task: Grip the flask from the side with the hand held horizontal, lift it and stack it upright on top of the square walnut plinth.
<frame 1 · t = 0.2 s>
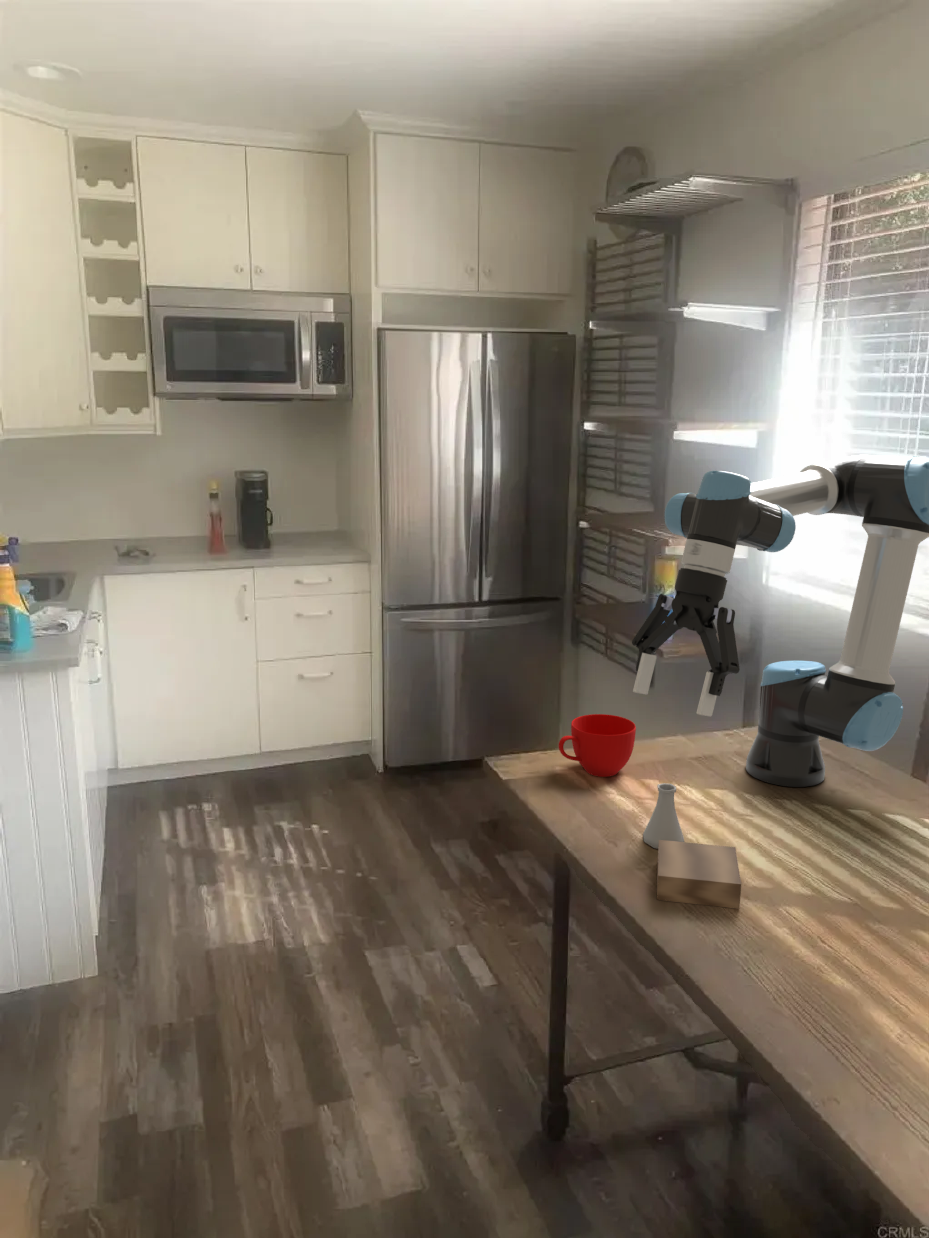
hand: (670, 703, 144), 27 cm above the table, tool tilted 15°, fingers open, 13 cm apart
plinth: (696, 884, 143), on the table
ceramic cup: (593, 773, 187), on the table
flask: (663, 842, 157), on the table
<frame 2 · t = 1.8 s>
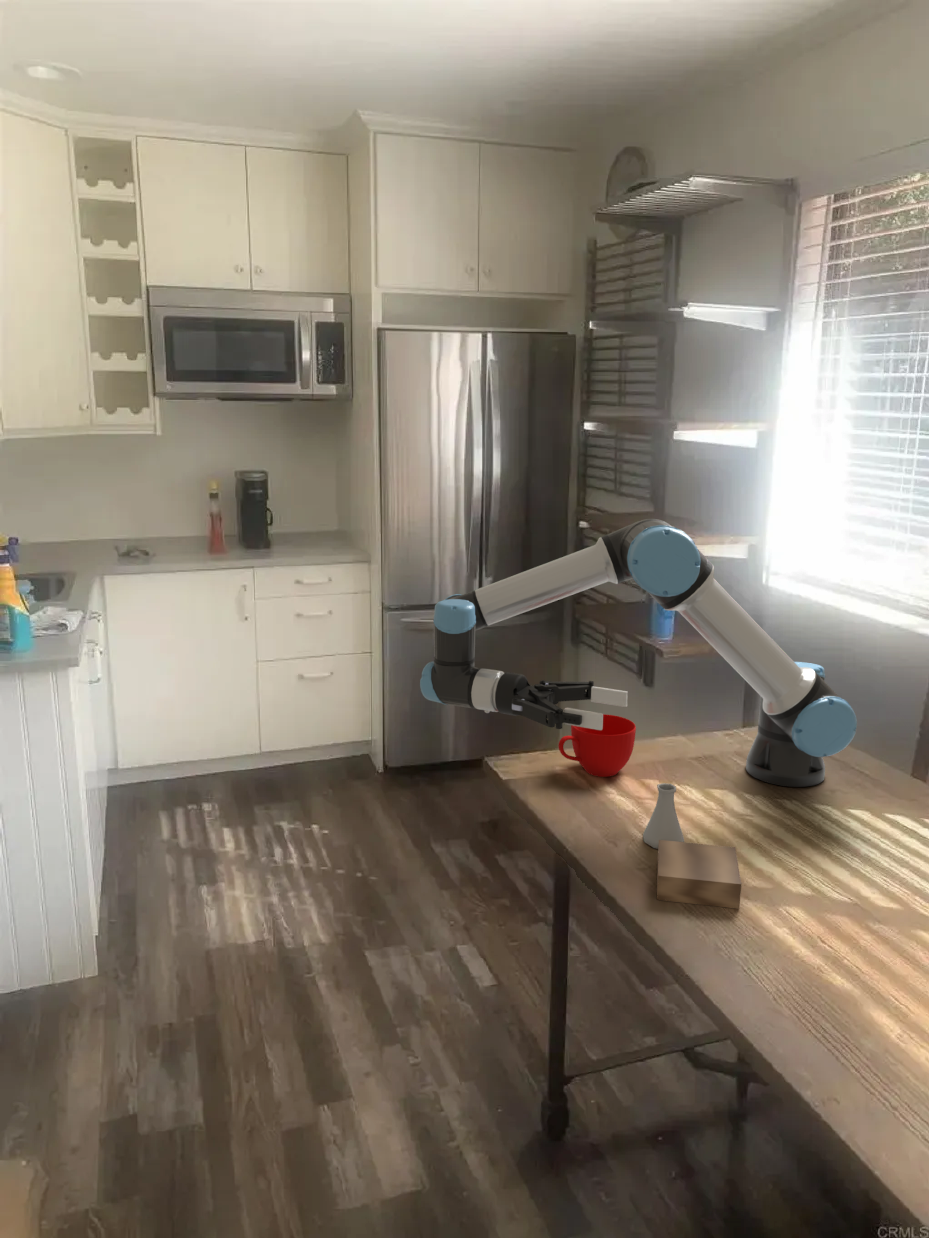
hand: (615, 710, 157), 22 cm above the table, tool horizontal, fingers open, 13 cm apart
nothing on the table moved.
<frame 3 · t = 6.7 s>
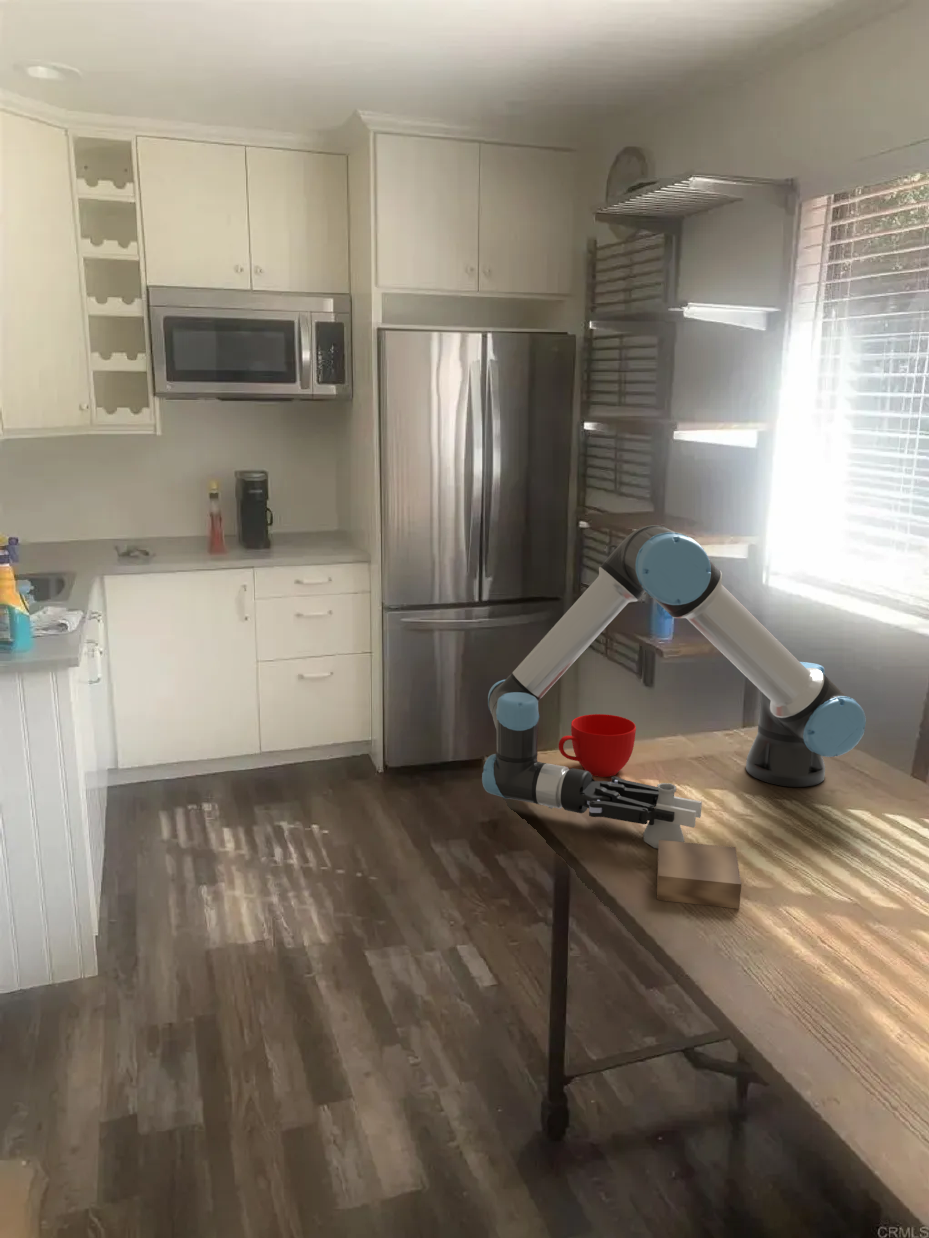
hand: (697, 814, 154), 6 cm above the table, tool horizontal, fingers closed on flask, 3 cm apart
flask: (663, 841, 157), on the table, touching gripper
everything else where it was.
when the fingers open (11 cm above the table, at t = 10.8 s): flask drops 1 cm, resting on plinth.
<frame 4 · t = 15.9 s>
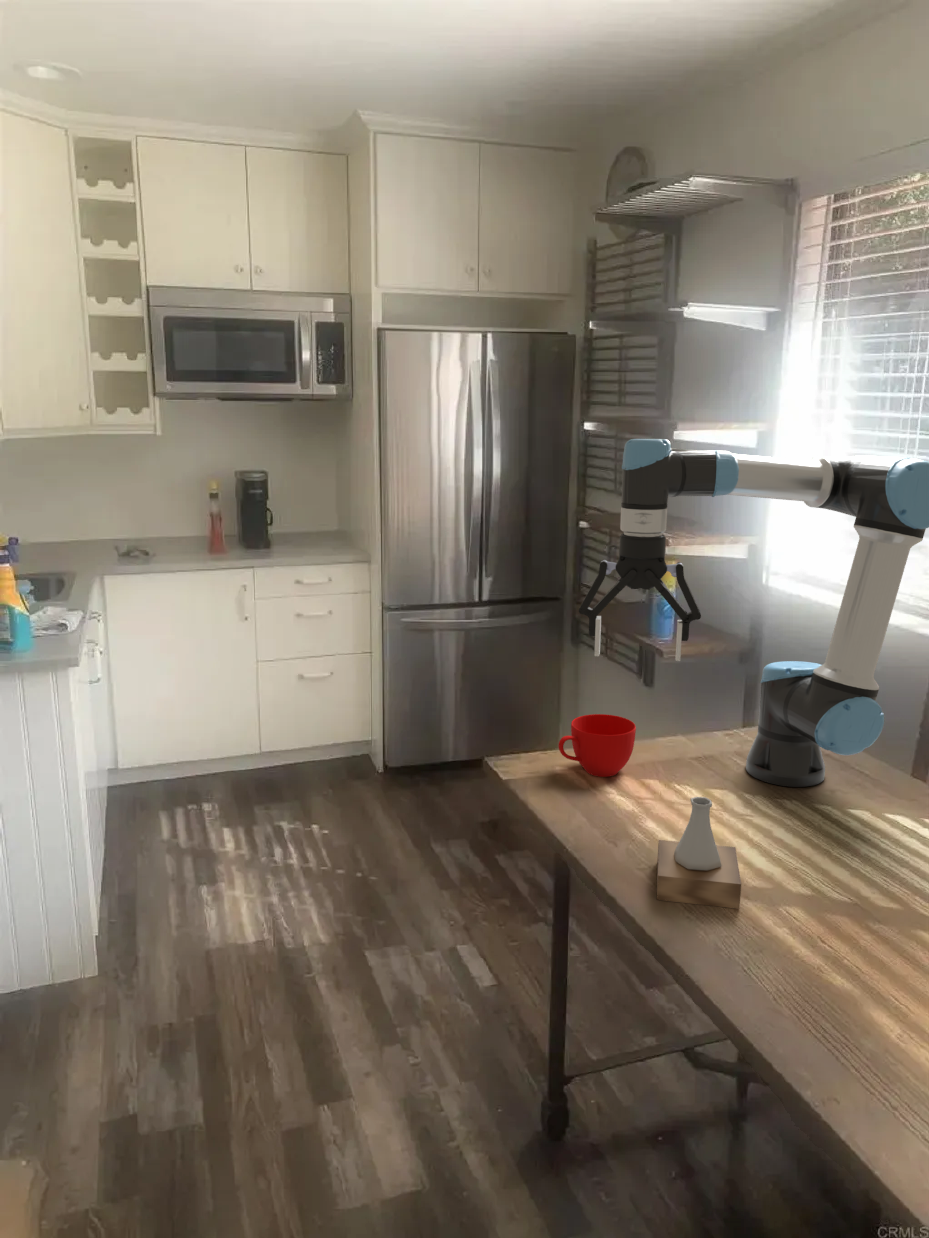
hand: (637, 656, 157), 31 cm above the table, tool pointing down, fingers open, 13 cm apart
flask: (697, 862, 142), point 4 cm above the table, touching plinth
everything else where it was.
at the end: flask inside the target area on the plinth (0.1 cm from its centre), point 3.8 cm above the plinth's base; flask tilted 0°; the gripper is holding nothing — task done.
